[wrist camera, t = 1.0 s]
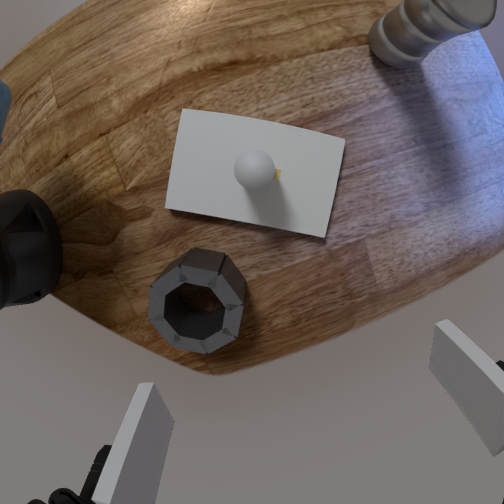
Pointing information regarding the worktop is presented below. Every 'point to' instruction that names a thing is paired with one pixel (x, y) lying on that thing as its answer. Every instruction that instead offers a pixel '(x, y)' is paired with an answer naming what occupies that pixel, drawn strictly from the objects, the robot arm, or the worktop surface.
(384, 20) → the plastic bottle
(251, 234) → the worktop surface
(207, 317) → the ring
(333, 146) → the shaft stand
